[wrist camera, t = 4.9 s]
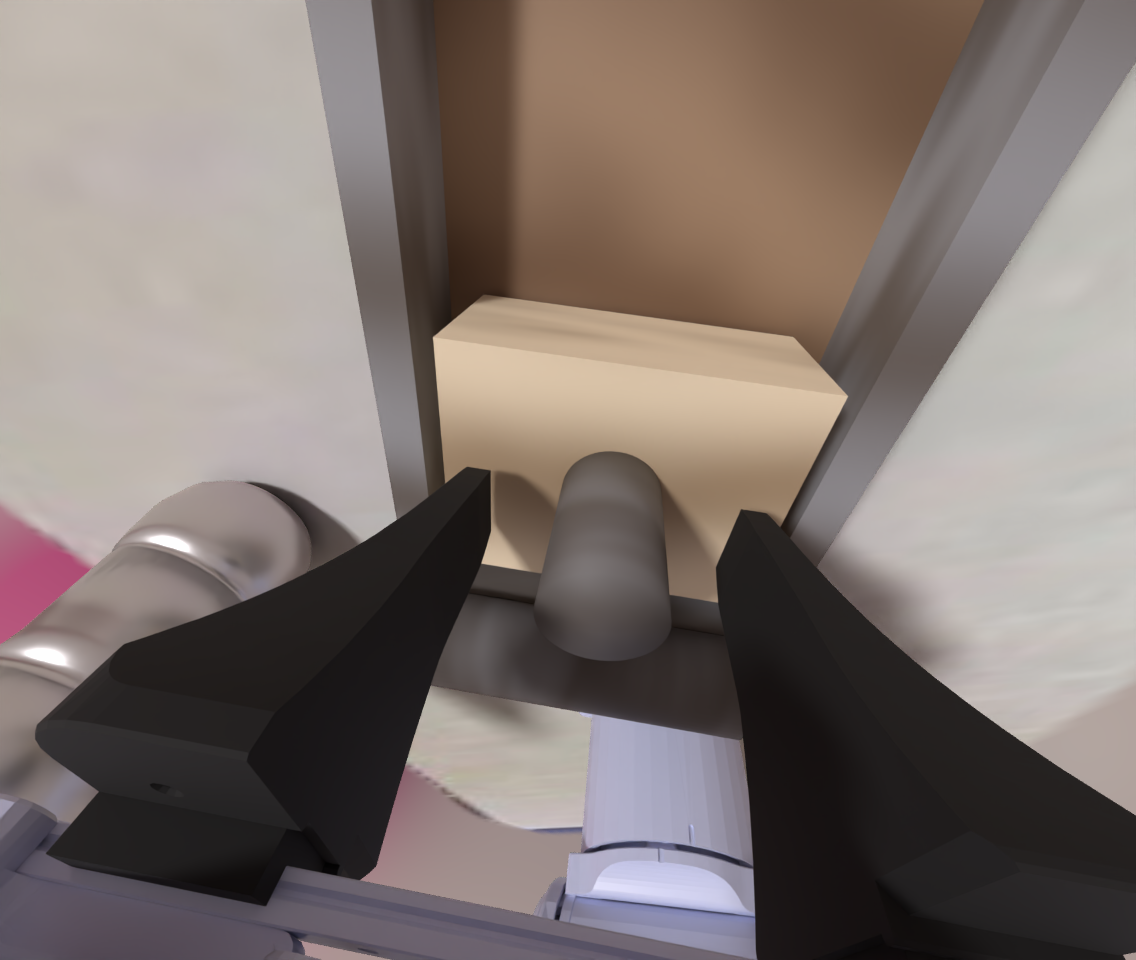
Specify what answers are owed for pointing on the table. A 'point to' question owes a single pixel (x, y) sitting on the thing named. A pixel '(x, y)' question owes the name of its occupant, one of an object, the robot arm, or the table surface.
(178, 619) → the plastic bottle
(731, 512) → the tan wooden block
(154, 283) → the table surface
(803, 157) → the bay
